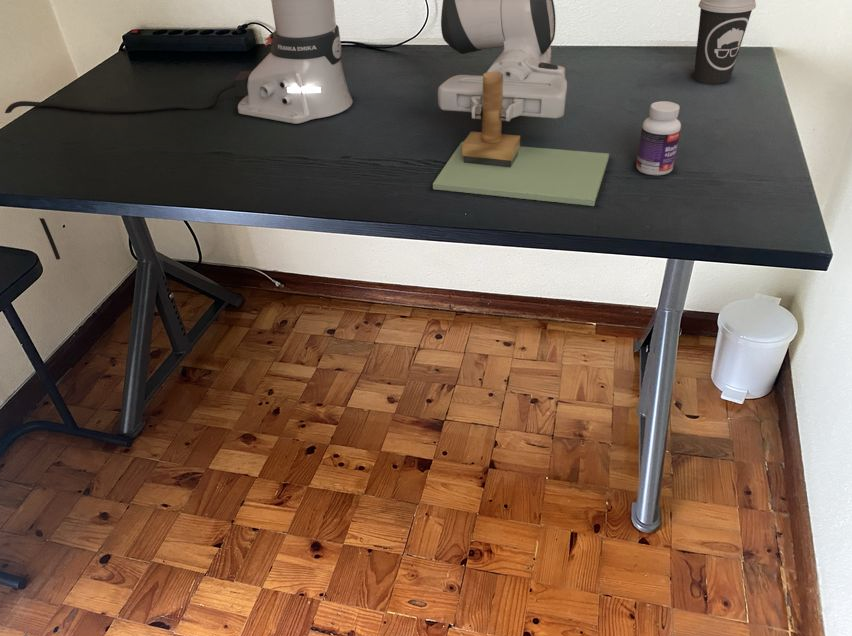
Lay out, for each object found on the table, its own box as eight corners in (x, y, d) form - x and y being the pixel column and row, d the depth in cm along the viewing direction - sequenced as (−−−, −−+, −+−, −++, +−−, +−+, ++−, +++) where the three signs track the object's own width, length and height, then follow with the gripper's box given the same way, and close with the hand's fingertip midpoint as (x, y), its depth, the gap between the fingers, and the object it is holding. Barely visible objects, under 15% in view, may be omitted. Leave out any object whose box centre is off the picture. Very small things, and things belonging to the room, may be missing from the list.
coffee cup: (743, 73, 140) (763, -12, 131) (732, 89, 134) (752, 1, 125) (692, 67, 144) (708, -16, 135) (678, 83, 138) (694, -3, 129)
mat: (432, 189, 111) (432, 183, 110) (461, 146, 122) (461, 141, 122) (594, 206, 104) (594, 200, 103) (608, 159, 115) (609, 153, 114)
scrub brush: (462, 163, 115) (461, 78, 107) (471, 150, 119) (471, 67, 110) (511, 168, 113) (515, 82, 104) (519, 154, 116) (523, 70, 108)
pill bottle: (667, 179, 108) (678, 115, 102) (631, 172, 111) (640, 109, 105) (677, 164, 112) (689, 102, 106) (641, 158, 114) (651, 97, 108)
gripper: (450, 61, 121) (424, 90, 111) (575, 67, 115) (559, 98, 105) (450, 98, 125) (425, 129, 115) (571, 106, 119) (555, 140, 109)
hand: (490, 115), depth 110 cm, fingers closed on scrub brush, 3 cm apart
